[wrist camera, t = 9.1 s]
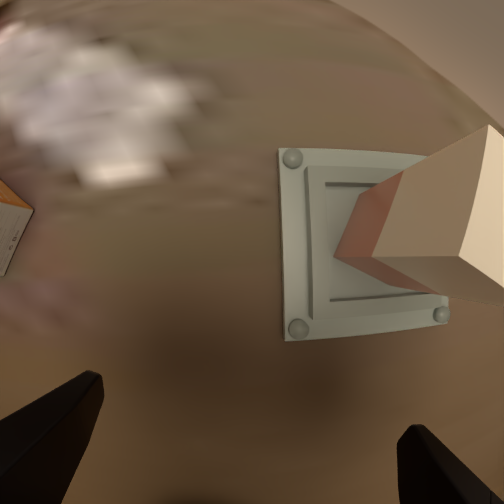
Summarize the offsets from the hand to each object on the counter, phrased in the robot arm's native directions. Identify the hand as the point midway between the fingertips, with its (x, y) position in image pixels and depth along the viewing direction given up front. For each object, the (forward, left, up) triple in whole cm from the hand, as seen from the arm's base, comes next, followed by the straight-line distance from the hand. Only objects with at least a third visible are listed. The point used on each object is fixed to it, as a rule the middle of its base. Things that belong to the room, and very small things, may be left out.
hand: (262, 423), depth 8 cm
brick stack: (+5, -8, -12) cm, 15 cm away
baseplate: (+5, -8, -13) cm, 16 cm away
